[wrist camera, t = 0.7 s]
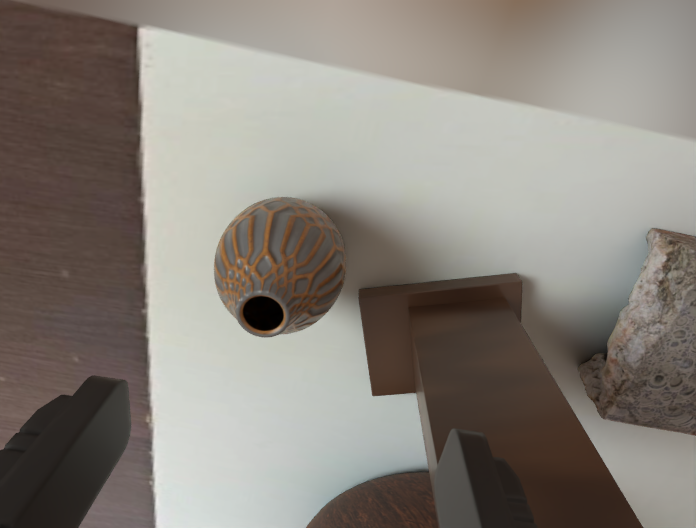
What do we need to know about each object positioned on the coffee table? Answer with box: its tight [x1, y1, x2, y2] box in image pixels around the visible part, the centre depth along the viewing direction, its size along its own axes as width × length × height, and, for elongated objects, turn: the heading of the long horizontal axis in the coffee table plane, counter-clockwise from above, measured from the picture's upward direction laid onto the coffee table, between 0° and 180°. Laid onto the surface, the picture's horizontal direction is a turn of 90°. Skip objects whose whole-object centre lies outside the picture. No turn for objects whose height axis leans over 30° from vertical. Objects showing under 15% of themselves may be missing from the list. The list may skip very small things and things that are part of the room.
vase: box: [214, 197, 346, 337], centre depth 23 cm, size 7×7×9 cm
